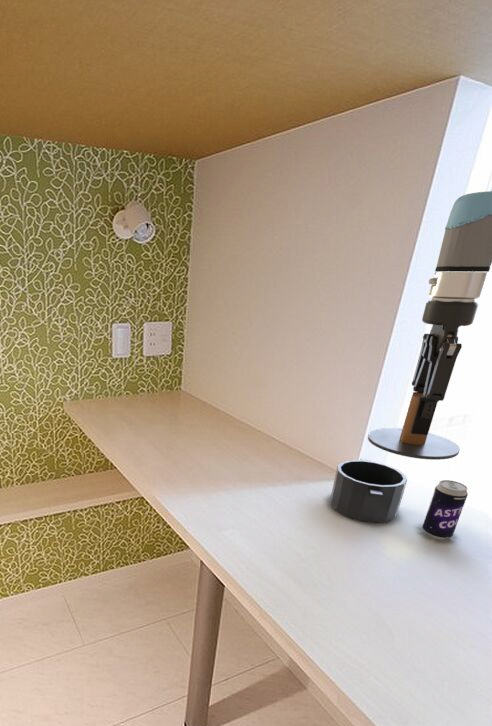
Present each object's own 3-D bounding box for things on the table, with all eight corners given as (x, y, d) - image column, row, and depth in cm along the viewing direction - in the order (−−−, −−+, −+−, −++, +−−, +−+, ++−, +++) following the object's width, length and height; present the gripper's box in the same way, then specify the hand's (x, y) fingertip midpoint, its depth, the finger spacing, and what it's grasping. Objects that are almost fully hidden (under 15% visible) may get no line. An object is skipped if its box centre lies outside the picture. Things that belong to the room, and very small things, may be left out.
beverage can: (423, 537, 94) (440, 488, 89) (419, 524, 99) (434, 477, 94) (454, 543, 92) (473, 493, 87) (448, 530, 97) (465, 481, 92)
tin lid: (443, 437, 90) (459, 389, 86) (470, 467, 77) (490, 411, 72) (362, 430, 94) (372, 383, 90) (373, 456, 81) (386, 403, 77)
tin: (388, 494, 112) (397, 460, 108) (404, 534, 95) (416, 496, 91) (328, 485, 116) (334, 453, 112) (332, 523, 99) (341, 486, 95)
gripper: (415, 296, 83) (385, 414, 93) (443, 302, 68) (403, 442, 78) (461, 297, 81) (425, 417, 91) (499, 303, 66) (451, 447, 76)
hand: (415, 429), depth 84 cm, fingers closed on tin lid, 4 cm apart
